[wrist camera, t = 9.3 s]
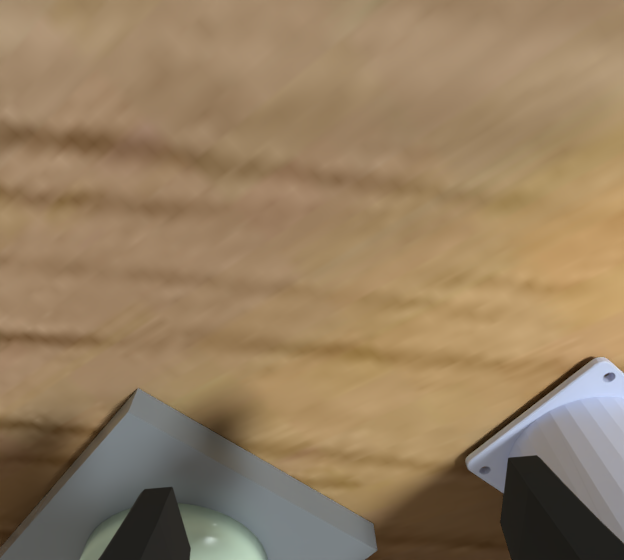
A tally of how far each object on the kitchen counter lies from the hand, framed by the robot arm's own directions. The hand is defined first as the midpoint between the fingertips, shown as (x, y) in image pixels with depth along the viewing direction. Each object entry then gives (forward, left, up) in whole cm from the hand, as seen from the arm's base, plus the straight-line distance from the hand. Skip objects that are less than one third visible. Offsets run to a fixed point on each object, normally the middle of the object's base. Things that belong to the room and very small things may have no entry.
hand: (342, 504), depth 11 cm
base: (-4, +16, -10) cm, 20 cm away
